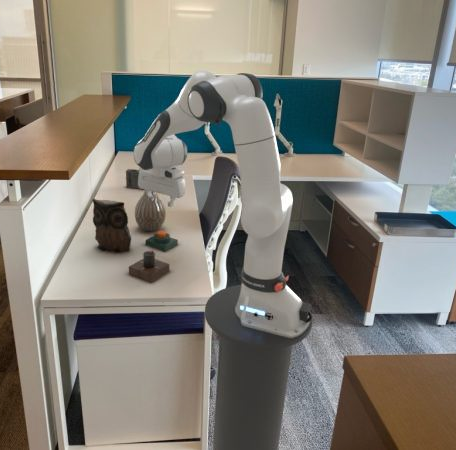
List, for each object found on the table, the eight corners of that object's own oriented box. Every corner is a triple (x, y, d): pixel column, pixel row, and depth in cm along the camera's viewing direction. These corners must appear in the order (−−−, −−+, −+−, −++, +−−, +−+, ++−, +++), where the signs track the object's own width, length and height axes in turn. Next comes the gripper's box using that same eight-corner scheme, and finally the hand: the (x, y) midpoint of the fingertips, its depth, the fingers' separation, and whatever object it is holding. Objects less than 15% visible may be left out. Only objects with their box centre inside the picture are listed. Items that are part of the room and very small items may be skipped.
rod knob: (149, 268, 152) (149, 256, 150) (141, 265, 154) (140, 252, 152) (157, 264, 155) (157, 252, 153) (149, 261, 157) (148, 249, 155)
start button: (168, 236, 177) (168, 232, 176) (162, 239, 174) (162, 235, 173) (160, 234, 178) (160, 229, 178) (155, 236, 176) (155, 232, 175)
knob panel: (169, 271, 157) (169, 263, 156) (151, 282, 149) (151, 274, 148) (147, 263, 162) (147, 255, 161) (128, 274, 154) (128, 266, 153)
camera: (124, 187, 244) (124, 170, 240) (127, 185, 248) (126, 168, 244) (153, 190, 241) (152, 172, 237) (155, 188, 245) (155, 171, 241)
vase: (158, 236, 185) (158, 196, 178) (129, 232, 188) (128, 192, 181) (170, 225, 196) (170, 187, 190) (142, 221, 200) (142, 183, 193)
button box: (177, 244, 178) (177, 235, 177) (165, 251, 172) (165, 242, 170) (158, 238, 183) (158, 229, 181) (145, 244, 177) (145, 235, 175)
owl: (132, 252, 170) (131, 202, 163) (99, 257, 165) (96, 206, 158) (123, 239, 181) (122, 192, 173) (92, 243, 176) (89, 195, 168)
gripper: (134, 165, 168) (134, 199, 173) (177, 175, 158) (177, 211, 163) (144, 162, 173) (145, 195, 178) (188, 171, 163) (186, 207, 168)
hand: (160, 203), depth 171 cm, fingers open, 8 cm apart
